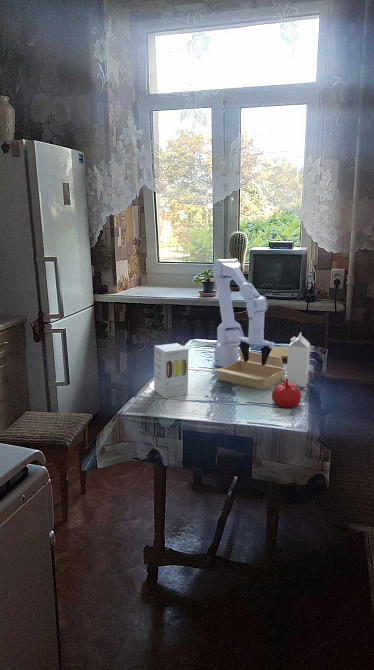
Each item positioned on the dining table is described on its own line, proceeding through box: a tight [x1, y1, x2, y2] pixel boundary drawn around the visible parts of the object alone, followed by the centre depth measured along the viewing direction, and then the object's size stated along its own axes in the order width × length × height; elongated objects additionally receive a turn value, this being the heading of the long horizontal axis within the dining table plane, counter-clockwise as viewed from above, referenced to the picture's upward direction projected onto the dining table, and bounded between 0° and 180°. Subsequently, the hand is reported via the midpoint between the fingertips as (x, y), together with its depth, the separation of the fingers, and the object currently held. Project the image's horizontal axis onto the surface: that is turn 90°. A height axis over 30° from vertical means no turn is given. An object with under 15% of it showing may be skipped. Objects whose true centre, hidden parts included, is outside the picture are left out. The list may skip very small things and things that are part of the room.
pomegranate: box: [271, 377, 302, 409], centre depth 170 cm, size 10×10×9 cm
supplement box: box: [153, 342, 189, 399], centre depth 179 cm, size 10×9×17 cm
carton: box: [217, 359, 286, 391], centre depth 195 cm, size 20×17×4 cm
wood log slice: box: [269, 345, 288, 363], centre depth 225 cm, size 16×16×3 cm
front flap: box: [212, 367, 264, 380], centre depth 186 cm, size 19×6×1 cm, turn 54°
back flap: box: [238, 348, 285, 369], centre depth 199 cm, size 19×6×1 cm
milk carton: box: [286, 332, 311, 388], centre depth 189 cm, size 7×7×19 cm
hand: (254, 363), depth 196 cm, fingers open, 7 cm apart
